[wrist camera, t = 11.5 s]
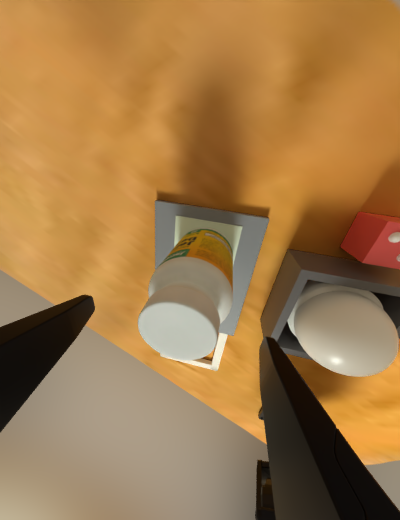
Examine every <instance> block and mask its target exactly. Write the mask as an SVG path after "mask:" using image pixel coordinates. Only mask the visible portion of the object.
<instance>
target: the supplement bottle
mask: <svg viewBox="0 0 400 520" xmlns="http://www.w3.org/2000/svg"><path fill="white" fill-rule="evenodd" d="M148 292H149V299H148V301H147V303H146V305H145V306H144V308H143V309H142V311H141V313H140V315H139V318H138V328H139V332H140V334H141V336H142V337H143V339H144V340H145V341H146V342H147V343H148V344H149V345H150V346H151V347H152V348H153V349H154V350H156V351H158V352H159V353H161V354H163V355H165V356H168V357H171V358H175V359H180V360H195V359H200V358H202V357H205V356H207V355H208V354H210V353H211V352H212V351H213V349H214V348H215V346H216V343H217V340H218V332H219V326H220V324H221V323H222V322H223V321H224V320H225V318H226V317H227V316H228V314H229V312H230V309H231V306H232V301H233V251H232V247H231V244H230V242H229V241H228V239H227V238H226V237H225V236H224V235H223V234H222V233H220V232H219V231H217V230H214V229H210V228H197V229H193V230H191V231H189V232H188V233H186V234H185V235H184V236H183V237H182V238H181V239H180V241H179V242H178V243H177V244H176V246H175V247H174V248H173V249H172V251H171V252H170V253H169V255H168V256H167V257H166V258H165V259H164V261H163V262H162V263H161V264H160V265H159V266H158V268H157V269H156V271H155V272H154V274H153V275H152V277H151V280H150V283H149V289H148Z"/></svg>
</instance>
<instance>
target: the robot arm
mask: <svg viewBox="0 0 400 520" xmlns="http://www.w3.org/2000/svg"><path fill="white" fill-rule="evenodd" d="M94 310H95V305H94V301H93V297H92V296H89V295H81V296H79V297H76V298H74V299H71V300H69V301H66V302H63V303H61V304H58V305H56V306H53V307H51V308H48V309H46V310H43V311H40V312H38V313H35V314H33V315H30V316H28V317H25V318H23V319H20V320H17V321H15V322H13V323H10V324H7V325H4V326H2V327H0V432H1V431H2V430H3V429H4V427H5V426H6V425H7V424H8V422H9V421H10V420H11V419H12V417H13V416H14V415H15V414H16V412H17V411H18V410H19V409H20V407H21V406H22V405H23V404H24V402H25V401H26V400H27V399H28V398H29V396H30V395H31V394H32V392H33V391H34V390H35V389H36V388H37V386H38V385H39V384H40V383H41V381H42V380H43V379H44V378H45V376H46V375H47V374H48V372H49V371H50V370H51V369H52V368H53V366H54V365H55V364H56V363H57V362H58V360H59V359H60V358H61V357H62V355H63V354H64V353H65V352H66V350H67V349H68V348H69V347H70V345H71V344H72V343H73V342H74V340H75V339H76V338H77V336H78V335H79V333H80V332H81V330H82V329H83V327H84V326H85V324H86V323H87V321H88V320H89V318H90V317H91V315H92V314H93V312H94ZM259 361H260V391H261V400H262V409H261V411H260V413H259V414H258V416H259V419H261V420H264V424H265V433H266V441H267V449H268V458H269V462H266V461H262V460H258V462H257V489H256V490H257V493H256V494H257V495H256V511H255V518H256V520H400V511H399V510H398V508H397V507H396V506H395V504H394V503H393V502H392V501H391V500H390V498H389V497H388V496H387V494H386V493H385V492H384V490H383V489H382V488H381V487H380V485H379V484H378V483H377V481H376V480H375V479H374V478H373V476H372V475H371V473H370V472H369V471H368V470H367V468H366V467H365V466H364V464H363V463H362V462H361V460H360V459H359V457H358V456H357V455H356V453H355V452H354V451H353V449H352V448H351V446H350V445H349V444H348V442H347V441H346V439H345V438H344V437H343V435H342V434H341V432H340V431H339V429H337V428H336V425H335V424H334V422H333V421H332V420H331V418H330V417H329V415H328V414H327V412H326V411H325V410H324V408H323V407H322V405H321V404H320V403H319V401H318V400H317V398H316V397H315V395H314V394H313V393H312V391H311V390H310V388H309V387H308V385H307V384H306V383H305V381H304V380H303V378H302V377H301V375H300V374H299V373H298V371H297V370H296V368H295V367H294V365H293V364H292V363H291V361H290V360H289V358H288V357H287V356H286V354H285V353H284V351H283V350H282V348H281V347H280V346H279V344H278V343H277V341H276V340H275V339H274V338H272V337H268V336H265V337H264V339H263V341H262V344H261V346H260V350H259Z"/></svg>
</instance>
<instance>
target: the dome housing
mask: <svg viewBox="0 0 400 520" xmlns="http://www.w3.org/2000/svg"><path fill="white" fill-rule="evenodd" d="M340 247H341V248H342V249H344V250H345V251H346V252H348V253H349V254H351V255H352V256H353V257H355V258H356V259H358V260H359V261H355V260H349V259H343V258H337V257H332V256H326V255H320V254H314V253H309V252H303V251H297V250H292V249H288V250H287V252H286V255H285V258H284V260H283V263H282V265H281V268H280V270H279V273H278V275H277V278H276V281H275V283H274V286H273V288H272V291H271V293H270V296H269V298H268V301H267V304H266V306H265V309H264V311H263V314H262V316H261V319H260V320H261V326H262V332H263V339H264V337H265V336H268V337H272V338H274V339H275V340H276V341H277V343H278V344H279V346H280V347H281V348H282V350H283V351H284V353H285V354H290V355H294V356H298V357H302V358H306V359H311V360H313V359H312V358H311V357H310V356H309V355H308V354H307V353H306V351H305V350H304V349H303V348H302V346H301V345H300V343H299V341H298V339H297V337H296V336H295V335H294V334H293V333H292V331H291V330H290V328H289V325H288V322H287V320H288V318H289V316H290V314H291V312H292V310H293V308H294V306H295V304H296V302H297V300H298V298H299V296H300V294H301V292H302V290H303V288H304V286H305V284H306V282H307V280H308V279H309V280H314V281H319V282H324V283H329V284H335V285H340V286H345V287H350V288H356V289H361V290H366V291H370V292H371V293H373V294H374V295H375V296H376V297H377V298H378V299H379V300H380V302H381V304H382V306H383V310H384V311H385V312H386V313H387V314H388V315H389V317H390V318H391V320H392V322H393V323H394V325H395V327H396V330H397V333H398V337H399V339H400V270H399V269H400V218H399V217H392V216H385V215H378V214H372V213H365V212H358V214H357V216H356V218H355V220H354V222H353V224H352V225H351V227H350V229H349V231H348V233H347V235H346V236H345V238H344V240H343V242H342V244H341V246H340Z"/></svg>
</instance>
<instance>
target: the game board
mask: <svg viewBox="0 0 400 520" xmlns="http://www.w3.org/2000/svg"><path fill="white" fill-rule="evenodd" d="M268 222H269V218H268V217H263V216H257V215H250V214H244V213H238V212H231V211H225V210H219V209H212V208H206V207H200V206H193V205H187V204H181V203H174V202H168V201H162V200H156V201H155V271H156V269H157V268H158V266H159V265H160V264H161V263H162V262H163V261H164V259H165V258H166V257H167V256H168V255H169V253H170V252H171V251H172V249H173V248H174V247H175V246H176V244H177V243H178V242H179V241H180V239H181V238H182V237H183V236H184V235H185V234H186V233H188V232H189V231H191V230H193V229H197V228H210V229H214V230H217V231H219V232H220V233H222V234H223V235H224V236H225V237H226V238H227V239H228V241H229V242H230V244H231V247H232V251H233V301H232V306H231V309H230V312H229V314H228V316H227V317H226V318H225V320H224V321H223V322H222V323H221V324H220V326H219V335H218V340H217V343H216V347H215V351H214V355H213V359H212V361H210V360H206V359H202V358H200V359H195V360H180V359H175V358H171V357H168V356H165V355H163V354H161V353H160V356H161V357H165V358H169V359H173V360H177V361H181V362H184V363H188V364H192V365H196V366H200V367H204V368H208V369H211V370H215V371H217V370H218V367H219V363H220V360H221V356H222V353H223V349H224V346H225V342H226V339H227V335H232V336H233V335H234V332H235V329H236V326H237V322H238V319H239V316H240V313H241V309H242V306H243V303H244V300H245V296H246V293H247V290H248V287H249V284H250V280H251V277H252V274H253V271H254V267H255V264H256V261H257V258H258V254H259V251H260V248H261V245H262V241H263V238H264V235H265V232H266V228H267V225H268Z"/></svg>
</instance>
